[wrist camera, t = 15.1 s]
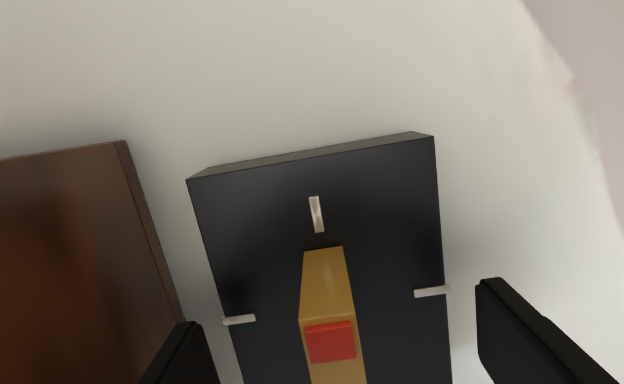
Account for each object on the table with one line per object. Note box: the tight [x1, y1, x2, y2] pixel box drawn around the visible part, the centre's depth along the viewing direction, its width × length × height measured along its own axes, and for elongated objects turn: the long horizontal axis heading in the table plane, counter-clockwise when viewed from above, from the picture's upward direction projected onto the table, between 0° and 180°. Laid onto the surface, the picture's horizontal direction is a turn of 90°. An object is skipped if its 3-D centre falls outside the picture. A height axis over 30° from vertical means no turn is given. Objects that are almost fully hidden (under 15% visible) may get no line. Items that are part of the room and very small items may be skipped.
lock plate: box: [186, 131, 452, 384], centre depth 13 cm, size 12×9×3 cm
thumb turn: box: [298, 246, 367, 384], centre depth 10 cm, size 5×2×4 cm, turn 10°
